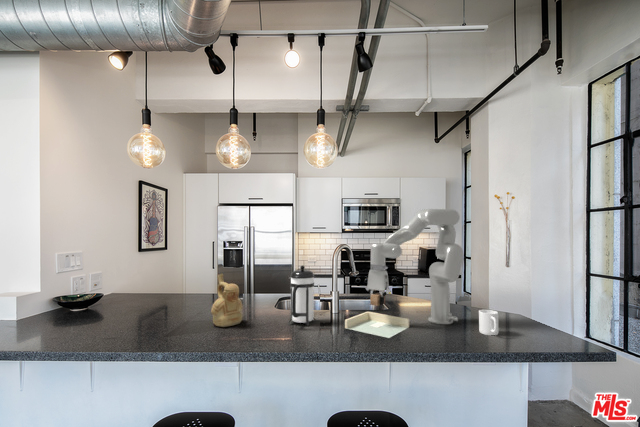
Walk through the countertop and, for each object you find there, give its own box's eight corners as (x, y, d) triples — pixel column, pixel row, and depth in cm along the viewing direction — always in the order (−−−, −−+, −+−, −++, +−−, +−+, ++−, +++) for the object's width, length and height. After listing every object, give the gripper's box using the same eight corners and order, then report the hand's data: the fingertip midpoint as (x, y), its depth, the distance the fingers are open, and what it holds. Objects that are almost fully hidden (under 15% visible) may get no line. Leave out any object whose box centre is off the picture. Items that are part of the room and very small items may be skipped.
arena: (409, 328, 170) (409, 318, 170) (389, 339, 153) (389, 328, 153) (367, 319, 185) (367, 311, 185) (344, 329, 168) (344, 319, 168)
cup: (493, 330, 166) (493, 309, 167) (505, 338, 154) (505, 315, 155) (476, 330, 167) (476, 309, 167) (487, 338, 155) (486, 315, 155)
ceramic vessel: (219, 331, 163) (220, 278, 164) (203, 322, 178) (204, 274, 179) (250, 324, 175) (251, 275, 176) (233, 317, 189) (233, 272, 190)
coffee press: (282, 320, 182) (282, 264, 183) (310, 317, 188) (310, 263, 190) (292, 329, 166) (293, 268, 167) (322, 326, 172) (322, 266, 174)
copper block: (377, 305, 170) (377, 295, 170) (370, 304, 172) (370, 294, 172) (384, 303, 176) (384, 293, 176) (378, 302, 178) (378, 292, 179)
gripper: (396, 268, 173) (395, 305, 172) (367, 266, 183) (367, 300, 182) (389, 269, 167) (389, 307, 166) (360, 267, 177) (359, 302, 176)
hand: (377, 303), depth 174 cm, fingers closed on copper block, 4 cm apart
